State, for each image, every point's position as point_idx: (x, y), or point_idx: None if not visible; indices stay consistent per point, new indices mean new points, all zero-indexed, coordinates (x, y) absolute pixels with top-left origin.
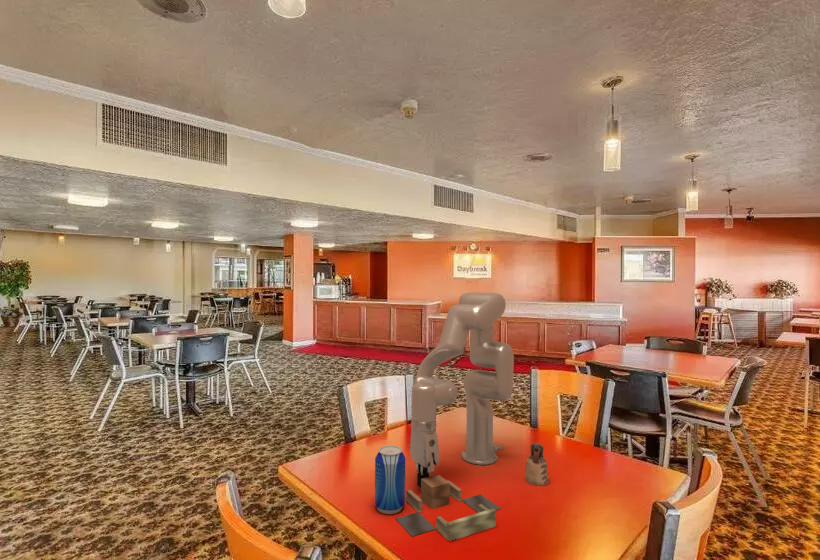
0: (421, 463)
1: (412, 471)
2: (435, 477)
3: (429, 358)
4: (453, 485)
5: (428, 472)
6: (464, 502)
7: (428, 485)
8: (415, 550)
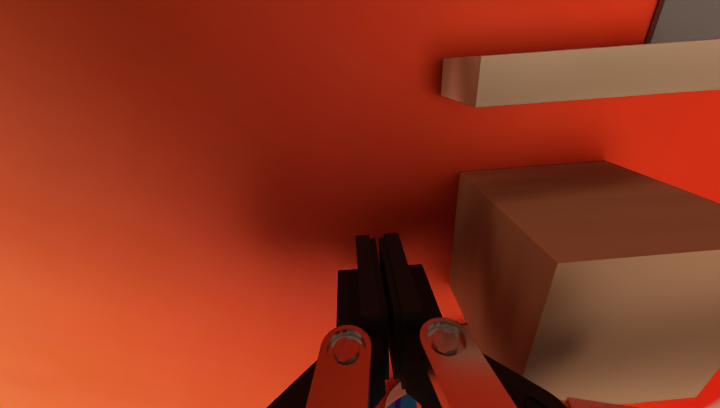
0: None
1: (9, 181)
2: (587, 315)
3: None
4: (618, 69)
5: (495, 371)
6: (685, 40)
7: (636, 396)
8: (709, 399)
